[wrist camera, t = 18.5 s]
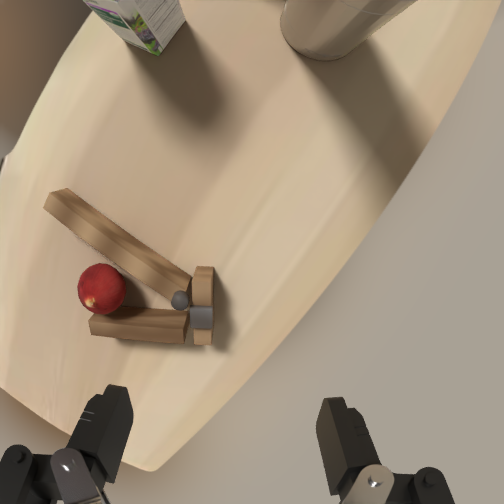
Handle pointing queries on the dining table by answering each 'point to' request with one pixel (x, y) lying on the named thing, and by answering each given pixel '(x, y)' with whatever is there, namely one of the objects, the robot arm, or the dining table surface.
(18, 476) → the robot arm
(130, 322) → the wooden hinge stand
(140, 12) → the syrup box
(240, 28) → the dining table surface
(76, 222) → the bar
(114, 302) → the onion
